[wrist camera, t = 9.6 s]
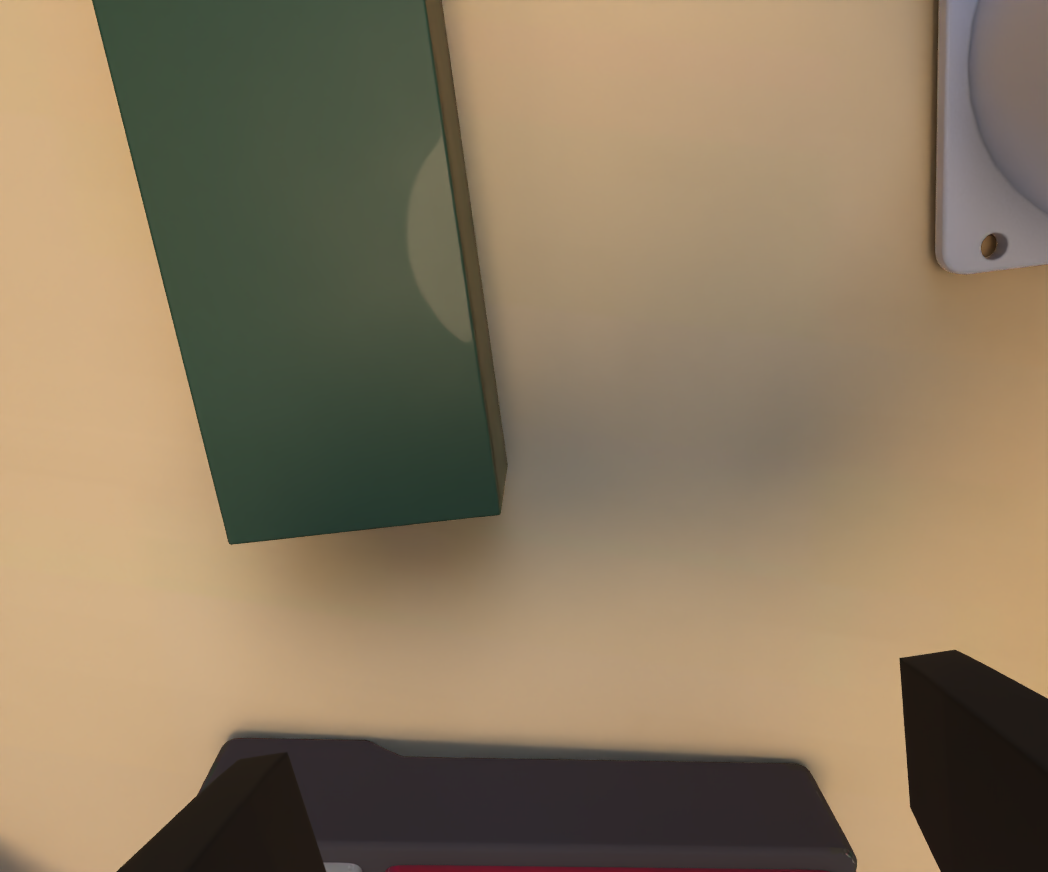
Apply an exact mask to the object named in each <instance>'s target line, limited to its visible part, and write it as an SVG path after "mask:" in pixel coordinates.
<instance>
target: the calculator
mask: <svg viewBox="0 0 1048 872" xmlns="http://www.w3.org/2000/svg"><path fill="white" fill-rule="evenodd" d="M283 752H288V755H289V758H290V761H291V765H292V768H293V771H294V774H295V777H296V780H297V783H298V786H299V789H300V792H301V795H302V798H303V801H304V805H305V808H306V811H307V814H308V817H309V820H310V823H311V826H312V829H313V832H314V835H315V838H316V841H317V845H318V848H319V851H320V854H321V857H322V860H323V863H324V866H325V869H326V872H856V868H857V859H856V856H855V854H854V852H853V850H852V848H851V846H850V844H849V842H848V840H847V838H846V837H845V835H844V833H843V831H842V829H841V827H840V826H839V824H838V822H837V820H836V818H835V816H834V815H833V813H832V811H831V809H830V807H829V805H828V804H827V802H826V800H825V798H824V796H823V794H822V792H821V791H820V789H819V787H818V785H817V783H816V781H815V780H814V778H813V776H812V775H811V773H810V771H809V770H808V769H807V768H806V767H804V766H802V765H799V764H789V763H732V762H674V761H616V760H558V759H500V758H442V757H404V756H400V755H397V754H395V753H393V752H391V751H389V750H387V749H384V748H382V747H380V746H378V745H376V744H374V743H372V742H370V741H366V740H320V739H265V738H238V739H232V740H230V741H228V742H226V743H225V744H224V745H223V747H222V748H221V750H220V752H219V754H218V756H217V758H216V760H215V762H214V763H213V765H212V767H211V769H210V771H209V773H208V775H207V777H206V779H205V781H204V783H203V785H202V787H201V789H200V791H199V793H198V795H199V794H200V793H201V792H202V791H203V790H204V789H205V788H206V787H207V786H208V785H209V784H211V783H212V782H213V781H214V780H215V779H216V778H217V777H218V776H219V775H221V774H222V773H223V772H224V771H225V770H226V769H228V768H229V767H230V766H231V765H233V764H234V763H235V762H236V761H237V760H239V759H243V758H250V757H256V756H263V755H270V754H276V753H283Z"/></svg>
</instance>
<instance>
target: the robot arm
mask: <svg viewBox="0 0 1048 872" xmlns="http://www.w3.org/2000/svg"><path fill="white" fill-rule="evenodd" d="M990 234H993V235H994V236H995V237H996V241H997V246H996V249H995V251H994V252H993V253H992V254H991V255H990V256H989V257H986V258H985V257H984V256H983V255H982V252H981V244H982V241H983V240H984V239H985V238H986V237H987V235H990ZM935 254H936V259H937V262H938V263H939V265H940V266H941V267H942V268H943V269H944V270H946V271H948V272H950V273H956V274H974V273H982V272H990V271H998V270H1006V269H1014V268H1022V267H1030V266H1038V265H1046V264H1048V0H939V16H938V84H937V152H936V221H935ZM900 671H901V685H902V699H903V713H904V726H905V740H906V754H907V768H908V782H909V796H910V808H911V810H912V812H913V814H914V816H915V818H916V820H917V823H918V825H919V827H920V829H921V831H922V833H923V835H924V837H925V840H926V842H927V844H928V846H929V848H930V850H931V852H932V854H933V856H934V859H935V861H936V863H937V865H938V867H939V869H940V871H941V872H1048V699H1047V698H1045V697H1044V696H1042V695H1040V694H1038V693H1036V692H1034V691H1033V690H1031V689H1029V688H1027V687H1025V686H1023V685H1022V684H1020V683H1018V682H1016V681H1014V680H1012V679H1010V678H1009V677H1007V676H1005V675H1003V674H1001V673H999V672H998V671H996V670H994V669H992V668H990V667H988V666H986V665H984V664H983V663H981V662H979V661H977V660H975V659H973V658H971V657H969V656H967V655H965V654H963V653H961V652H959V651H957V650H950V651H944V652H937V653H931V654H924V655H918V656H911V657H905V658H900ZM117 872H326V869H325V866H324V863H323V860H322V857H321V854H320V851H319V848H318V845H317V841H316V838H315V835H314V832H313V829H312V826H311V823H310V820H309V817H308V814H307V811H306V808H305V805H304V801H303V798H302V795H301V792H300V789H299V786H298V783H297V780H296V777H295V774H294V771H293V768H292V765H291V761H290V758H289V755H288V752H283V753H276V754H270V755H263V756H256V757H250V758H243V759H239V760H237V761H236V762H235V763H234V764H233V765H231V766H230V767H229V768H228V769H226V770H225V771H224V772H223V773H222V774H221V775H219V776H218V777H217V778H216V779H215V780H214V781H213V782H212V783H211V784H209V785H208V786H207V787H206V788H205V789H204V790H203V791H202V792H201V793H200V794H199V795H197V796H196V797H195V798H194V799H193V800H192V801H191V802H190V803H189V804H188V805H187V806H186V807H185V808H184V809H182V810H181V811H180V812H179V813H178V814H177V815H176V816H175V817H174V818H173V819H172V820H171V821H170V822H169V823H168V824H167V825H166V826H165V827H163V828H162V829H161V830H160V831H159V832H158V833H157V834H156V835H155V836H154V837H153V838H152V839H151V840H150V841H149V842H148V843H147V844H145V845H144V846H143V847H142V848H141V849H140V850H139V851H138V852H137V853H136V854H135V855H134V856H133V857H132V858H131V859H129V860H128V861H127V862H126V863H125V864H124V865H123V866H122V867H121V868H120V869H119V870H118V871H117Z"/></svg>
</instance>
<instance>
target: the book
mask: <svg viewBox="0 0 1048 872" xmlns="http://www.w3.org/2000/svg"><path fill="white" fill-rule="evenodd" d="M92 2H93V6H94V10H95V14H96V18H97V22H98V26H99V30H100V34H101V37H102V41H103V45H104V49H105V53H106V57H107V61H108V65H109V69H110V73H111V77H112V81H113V85H114V89H115V93H116V97H117V101H118V105H119V109H120V113H121V117H122V121H123V125H124V129H125V133H126V137H127V141H128V145H129V149H130V153H131V157H132V161H133V165H134V169H135V173H136V177H137V181H138V184H139V188H140V192H141V196H142V200H143V204H144V208H145V212H146V216H147V220H148V224H149V228H150V232H151V236H152V240H153V244H154V248H155V252H156V256H157V260H158V264H159V268H160V272H161V276H162V280H163V284H164V288H165V292H166V296H167V300H168V304H169V308H170V312H171V316H172V320H173V324H174V328H175V332H176V335H177V339H178V343H179V347H180V351H181V355H182V359H183V363H184V367H185V371H186V375H187V379H188V383H189V387H190V391H191V395H192V399H193V403H194V407H195V411H196V415H197V419H198V423H199V427H200V431H201V435H202V439H203V443H204V447H205V451H206V455H207V459H208V463H209V467H210V471H211V475H212V479H213V482H214V486H215V490H216V494H217V498H218V502H219V506H220V510H221V514H222V518H223V522H224V526H225V530H226V534H227V538H228V542H229V544H231V545H232V544H241V543H250V542H259V541H268V540H277V539H286V538H295V537H304V536H313V535H322V534H331V533H340V532H349V531H358V530H367V529H376V528H385V527H394V526H403V525H412V524H420V523H429V522H438V521H447V520H456V519H465V518H474V517H485V516H494V515H500V513H501V507H502V500H503V493H504V486H505V479H506V472H507V458H506V451H505V444H504V437H503V430H502V423H501V416H500V409H499V402H498V395H497V388H496V380H495V373H494V366H493V359H492V352H491V345H490V338H489V331H488V324H487V317H486V310H485V303H484V296H483V289H482V282H481V275H480V268H479V261H478V254H477V246H476V239H475V232H474V225H473V218H472V211H471V204H470V197H469V190H468V183H467V176H466V169H465V162H464V155H463V148H462V141H461V134H460V127H459V120H458V113H457V105H456V98H455V91H454V84H453V77H452V70H451V63H450V56H449V49H448V42H447V35H446V28H445V21H444V14H443V7H442V0H92Z"/></svg>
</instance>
